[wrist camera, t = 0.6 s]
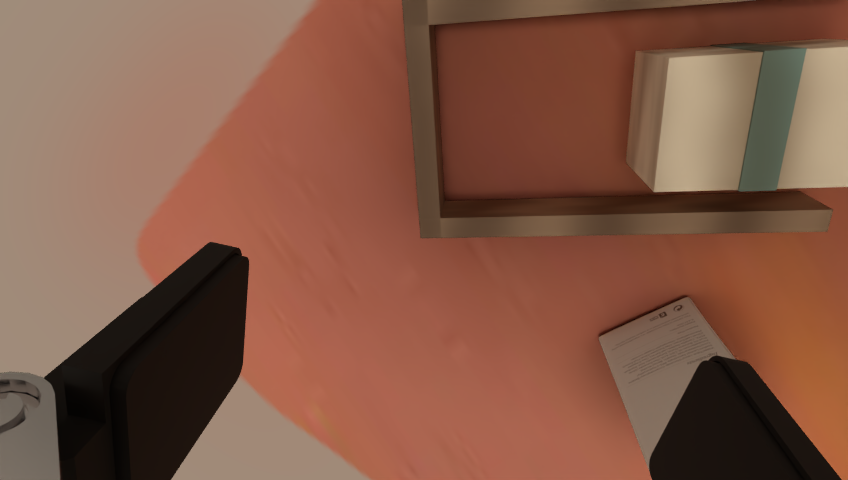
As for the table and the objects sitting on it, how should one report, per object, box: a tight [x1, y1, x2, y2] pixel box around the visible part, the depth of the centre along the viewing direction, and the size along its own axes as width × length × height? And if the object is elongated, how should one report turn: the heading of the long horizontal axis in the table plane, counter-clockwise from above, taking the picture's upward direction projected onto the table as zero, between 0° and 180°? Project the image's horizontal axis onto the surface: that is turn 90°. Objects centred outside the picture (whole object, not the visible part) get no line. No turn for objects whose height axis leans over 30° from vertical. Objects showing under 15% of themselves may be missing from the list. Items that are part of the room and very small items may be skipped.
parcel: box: [626, 39, 848, 192], centre depth 24 cm, size 9×6×6 cm
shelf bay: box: [402, 0, 833, 238], centre depth 26 cm, size 21×12×3 cm, turn 94°
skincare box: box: [599, 297, 736, 469], centre depth 26 cm, size 8×7×16 cm
